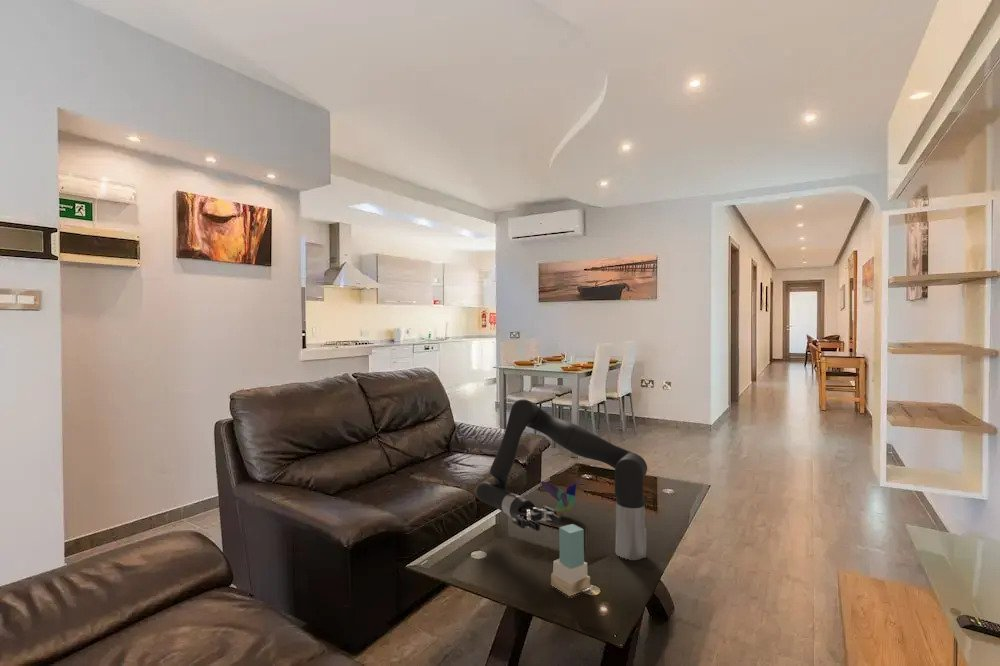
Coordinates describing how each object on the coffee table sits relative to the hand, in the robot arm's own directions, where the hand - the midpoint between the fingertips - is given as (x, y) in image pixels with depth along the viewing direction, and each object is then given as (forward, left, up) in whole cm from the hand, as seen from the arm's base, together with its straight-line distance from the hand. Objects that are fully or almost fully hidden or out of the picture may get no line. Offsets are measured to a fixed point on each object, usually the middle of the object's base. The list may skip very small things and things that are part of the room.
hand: (549, 524), depth 152 cm
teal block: (-5, +9, -8) cm, 13 cm away
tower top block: (-5, +8, -12) cm, 15 cm away
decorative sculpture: (-14, -44, -16) cm, 49 cm away
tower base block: (-5, +8, -16) cm, 18 cm away
